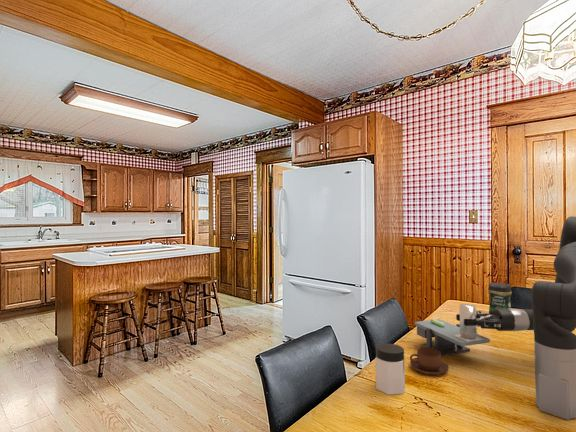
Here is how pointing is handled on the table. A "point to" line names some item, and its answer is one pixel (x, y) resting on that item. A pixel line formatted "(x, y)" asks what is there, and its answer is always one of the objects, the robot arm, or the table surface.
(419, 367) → the cup and saucer
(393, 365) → the jar
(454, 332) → the platform
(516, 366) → the table surface
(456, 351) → the pivot stand
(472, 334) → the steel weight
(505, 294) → the coffee jar
